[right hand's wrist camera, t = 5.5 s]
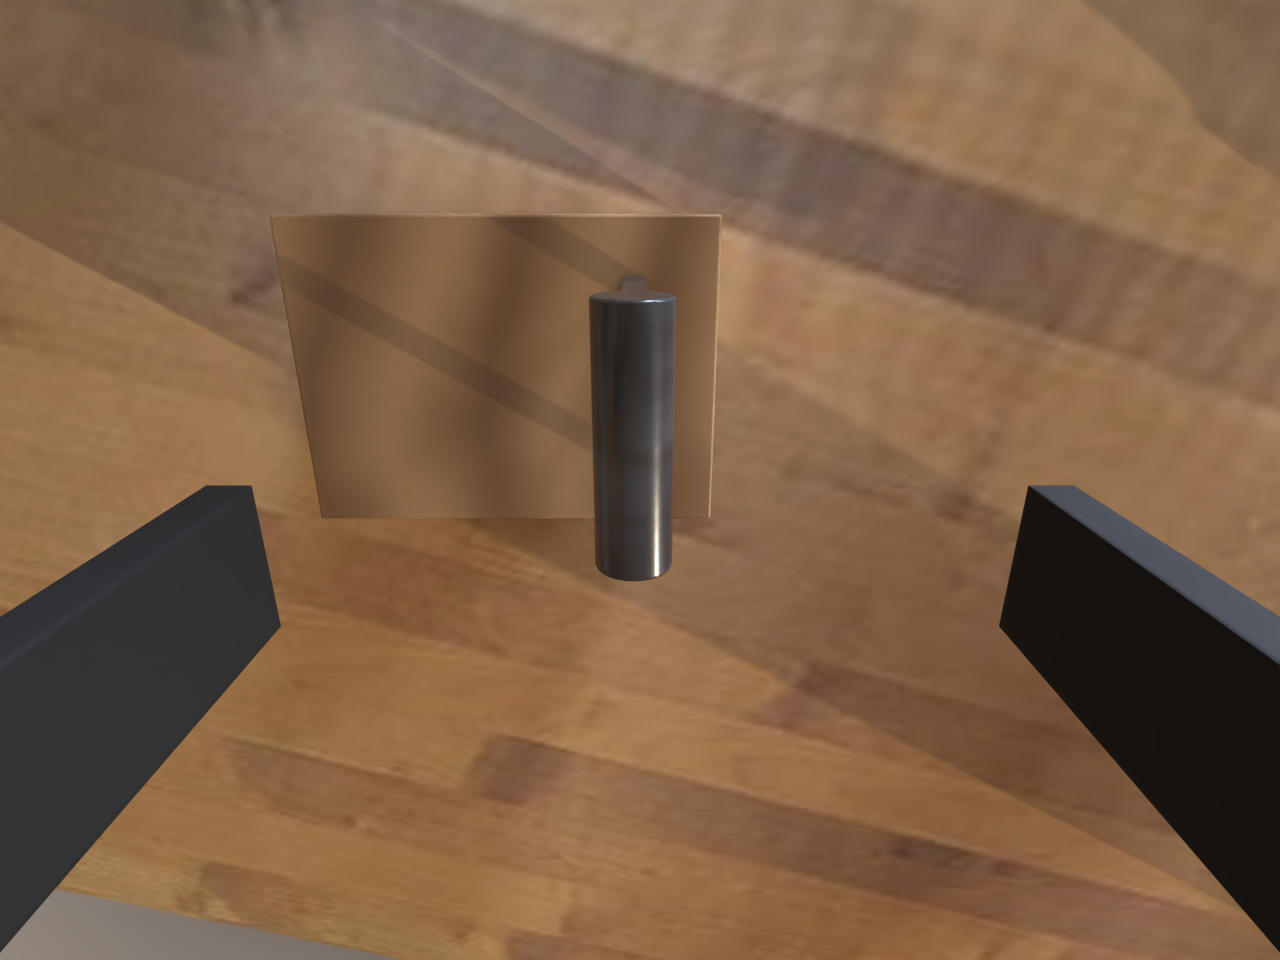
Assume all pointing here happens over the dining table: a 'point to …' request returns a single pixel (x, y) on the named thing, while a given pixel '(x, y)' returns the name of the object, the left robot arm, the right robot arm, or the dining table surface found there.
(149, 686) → the right robot arm
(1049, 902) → the dining table surface
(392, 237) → the lid
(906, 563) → the dining table surface
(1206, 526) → the dining table surface
